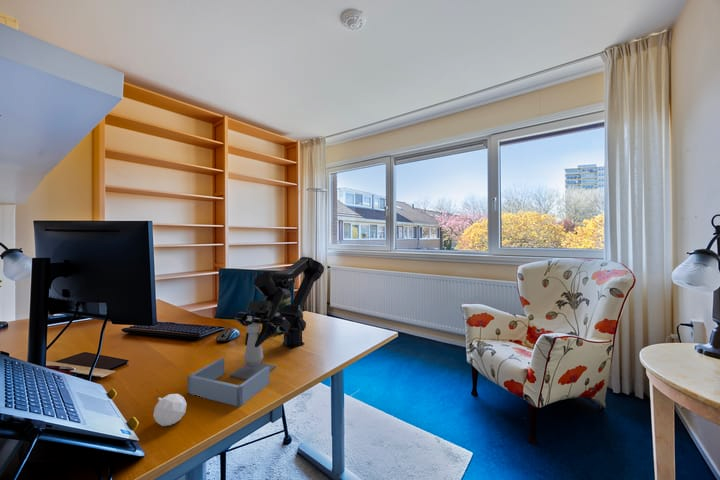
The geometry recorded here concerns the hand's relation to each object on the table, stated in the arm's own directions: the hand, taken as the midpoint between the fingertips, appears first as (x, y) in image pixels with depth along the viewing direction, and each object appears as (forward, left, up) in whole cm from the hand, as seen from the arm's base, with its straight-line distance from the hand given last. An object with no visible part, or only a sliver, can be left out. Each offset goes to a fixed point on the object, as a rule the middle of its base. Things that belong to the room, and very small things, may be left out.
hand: (250, 346), depth 93 cm
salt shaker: (-1, -1, -7) cm, 7 cm away
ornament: (+24, +10, -9) cm, 27 cm away
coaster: (-1, -1, -9) cm, 9 cm away
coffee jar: (-26, -30, -9) cm, 41 cm away
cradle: (+8, +4, -9) cm, 13 cm away
